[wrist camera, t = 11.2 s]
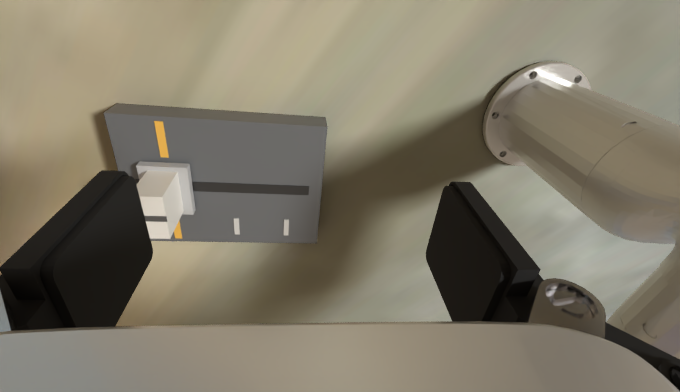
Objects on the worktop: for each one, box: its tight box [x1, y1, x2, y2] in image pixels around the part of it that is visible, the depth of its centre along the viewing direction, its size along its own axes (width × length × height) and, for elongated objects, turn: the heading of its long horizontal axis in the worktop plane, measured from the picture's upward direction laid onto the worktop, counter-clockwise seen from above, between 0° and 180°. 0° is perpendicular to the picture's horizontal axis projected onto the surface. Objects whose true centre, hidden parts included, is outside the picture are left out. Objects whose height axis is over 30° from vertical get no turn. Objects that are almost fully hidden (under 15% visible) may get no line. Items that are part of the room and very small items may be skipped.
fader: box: [136, 161, 196, 239], centre depth 37 cm, size 5×6×6 cm
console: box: [104, 103, 327, 243], centre depth 41 cm, size 22×16×3 cm
